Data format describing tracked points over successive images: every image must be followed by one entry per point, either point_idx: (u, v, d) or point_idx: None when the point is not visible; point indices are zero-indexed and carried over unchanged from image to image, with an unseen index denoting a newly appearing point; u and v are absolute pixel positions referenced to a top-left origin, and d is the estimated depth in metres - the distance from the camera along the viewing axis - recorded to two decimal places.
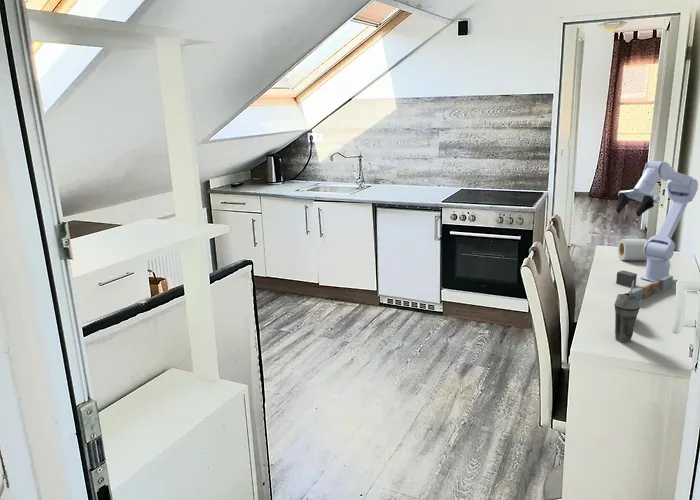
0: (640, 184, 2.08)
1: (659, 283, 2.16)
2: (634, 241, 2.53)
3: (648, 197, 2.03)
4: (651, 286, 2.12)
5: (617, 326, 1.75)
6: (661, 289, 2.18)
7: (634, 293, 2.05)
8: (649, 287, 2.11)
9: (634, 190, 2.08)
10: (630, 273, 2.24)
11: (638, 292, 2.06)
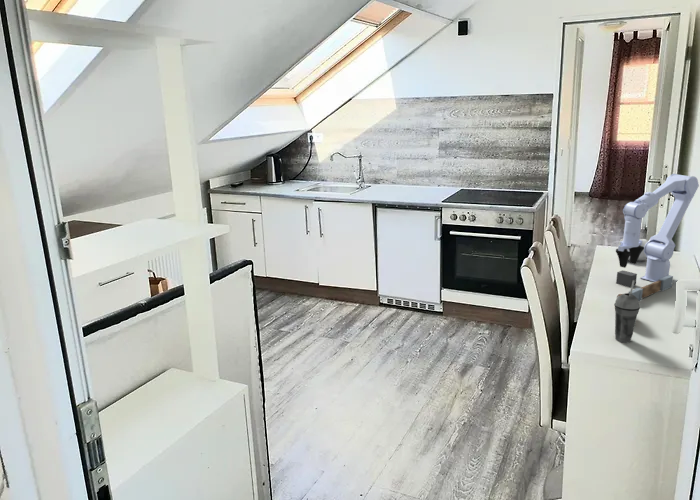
0: None
1: (659, 283, 2.16)
2: None
3: None
4: (651, 286, 2.12)
5: (617, 326, 1.75)
6: (661, 289, 2.18)
7: (634, 293, 2.05)
8: (649, 287, 2.11)
9: None
10: (630, 273, 2.24)
11: (638, 292, 2.06)
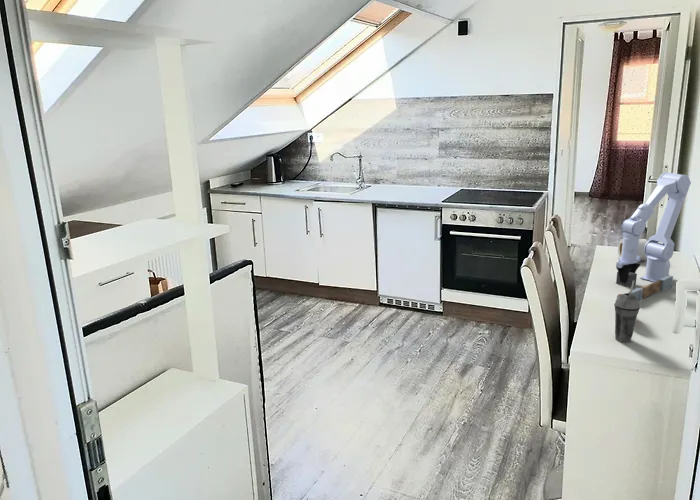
0: None
1: (659, 283, 2.16)
2: None
3: None
4: (651, 286, 2.12)
5: (617, 326, 1.75)
6: (661, 289, 2.18)
7: (634, 293, 2.05)
8: (649, 287, 2.11)
9: None
10: (630, 273, 2.24)
11: (638, 292, 2.06)
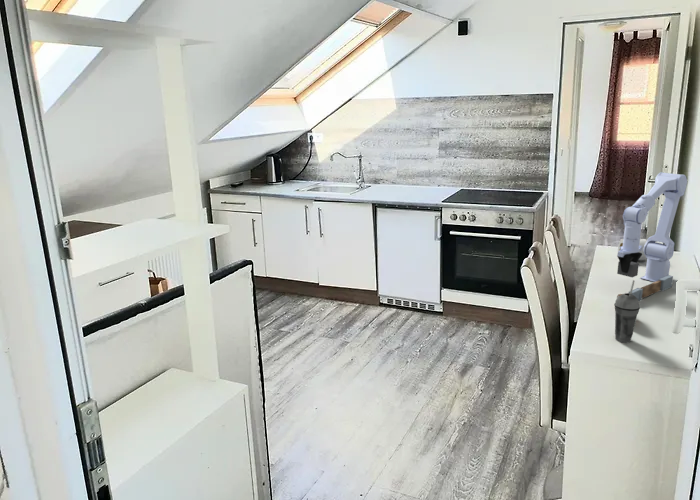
0: None
1: (659, 283, 2.16)
2: None
3: None
4: (651, 286, 2.12)
5: (617, 326, 1.75)
6: (661, 289, 2.18)
7: (634, 293, 2.05)
8: (649, 287, 2.11)
9: None
10: (632, 262, 2.17)
11: (638, 292, 2.06)
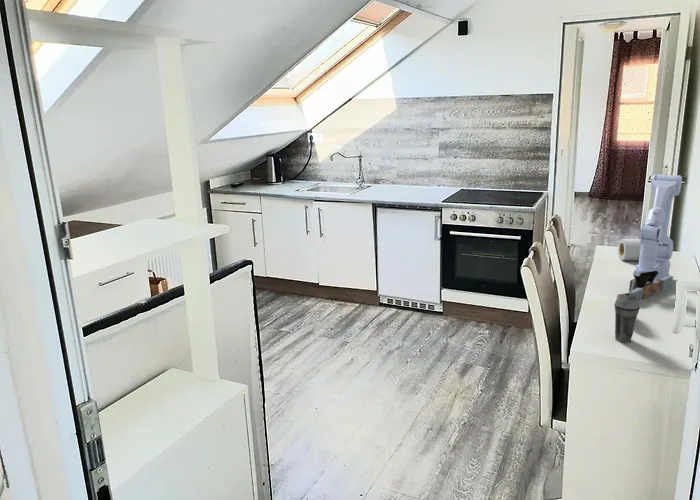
0: None
1: (659, 283, 2.16)
2: (634, 241, 2.53)
3: None
4: (651, 286, 2.12)
5: (617, 326, 1.75)
6: (661, 289, 2.18)
7: (634, 293, 2.05)
8: (649, 287, 2.11)
9: None
10: None
11: (638, 292, 2.06)
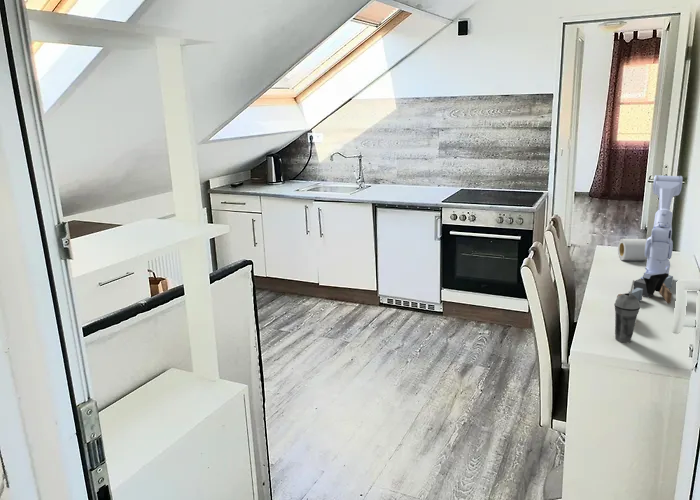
0: None
1: None
2: (634, 241, 2.53)
3: None
4: None
5: (617, 326, 1.75)
6: None
7: (634, 293, 2.05)
8: None
9: None
10: None
11: (638, 292, 2.06)
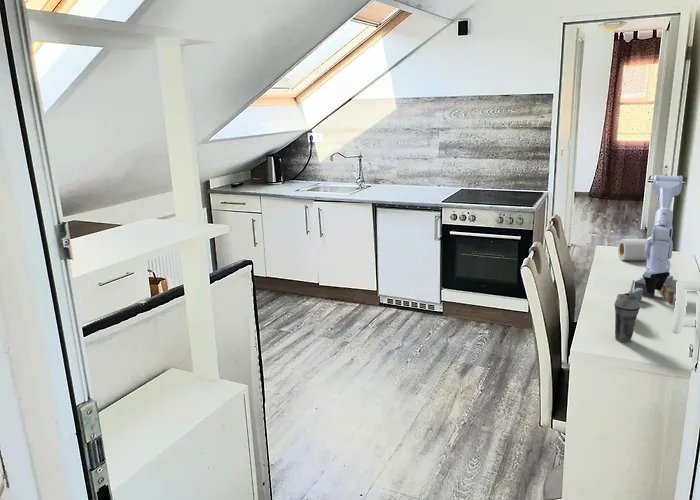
0: None
1: None
2: (634, 241, 2.53)
3: None
4: None
5: (617, 326, 1.75)
6: None
7: (634, 293, 2.05)
8: None
9: None
10: None
11: (638, 292, 2.06)
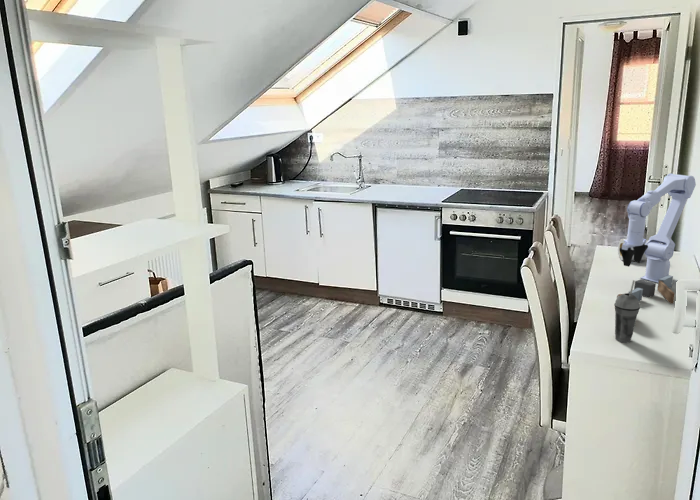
0: None
1: None
2: None
3: None
4: None
5: (617, 326, 1.75)
6: None
7: (634, 293, 2.05)
8: None
9: None
10: (649, 282, 2.13)
11: (638, 292, 2.06)
